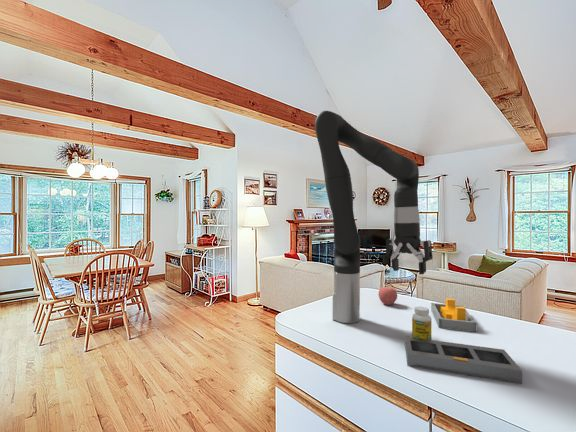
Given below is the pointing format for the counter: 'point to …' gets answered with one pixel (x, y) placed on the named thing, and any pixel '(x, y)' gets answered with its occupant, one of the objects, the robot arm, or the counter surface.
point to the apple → (387, 295)
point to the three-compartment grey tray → (462, 359)
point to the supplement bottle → (421, 323)
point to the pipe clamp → (453, 311)
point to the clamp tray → (451, 323)
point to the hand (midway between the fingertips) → (408, 272)
